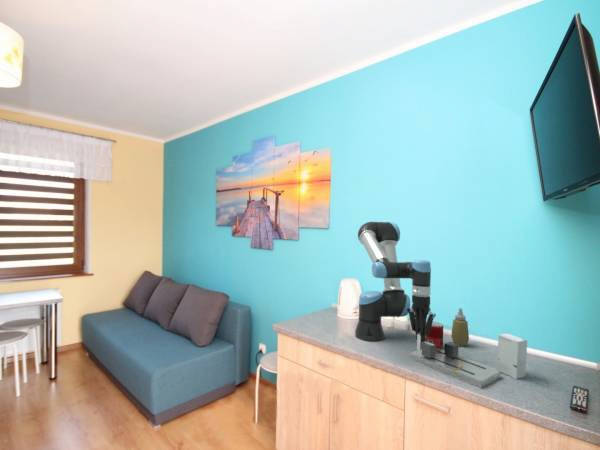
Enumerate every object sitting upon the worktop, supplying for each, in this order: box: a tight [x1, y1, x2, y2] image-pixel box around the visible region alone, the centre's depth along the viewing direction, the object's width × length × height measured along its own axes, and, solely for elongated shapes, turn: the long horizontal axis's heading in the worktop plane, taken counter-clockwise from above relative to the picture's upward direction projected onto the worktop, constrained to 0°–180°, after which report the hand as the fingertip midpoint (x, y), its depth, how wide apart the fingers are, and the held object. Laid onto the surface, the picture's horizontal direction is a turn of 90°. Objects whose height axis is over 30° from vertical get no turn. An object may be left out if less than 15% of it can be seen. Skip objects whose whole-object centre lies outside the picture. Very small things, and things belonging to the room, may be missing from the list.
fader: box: [422, 340, 436, 358], centre depth 132 cm, size 4×4×5 cm
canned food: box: [425, 320, 444, 349], centre depth 151 cm, size 8×8×11 cm
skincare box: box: [495, 333, 528, 380], centre depth 123 cm, size 8×6×15 cm
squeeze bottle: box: [450, 307, 470, 347], centre depth 154 cm, size 8×8×18 cm
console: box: [409, 341, 502, 389], centre depth 128 cm, size 30×16×8 cm, turn 35°
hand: (420, 348), depth 135 cm, fingers closed
